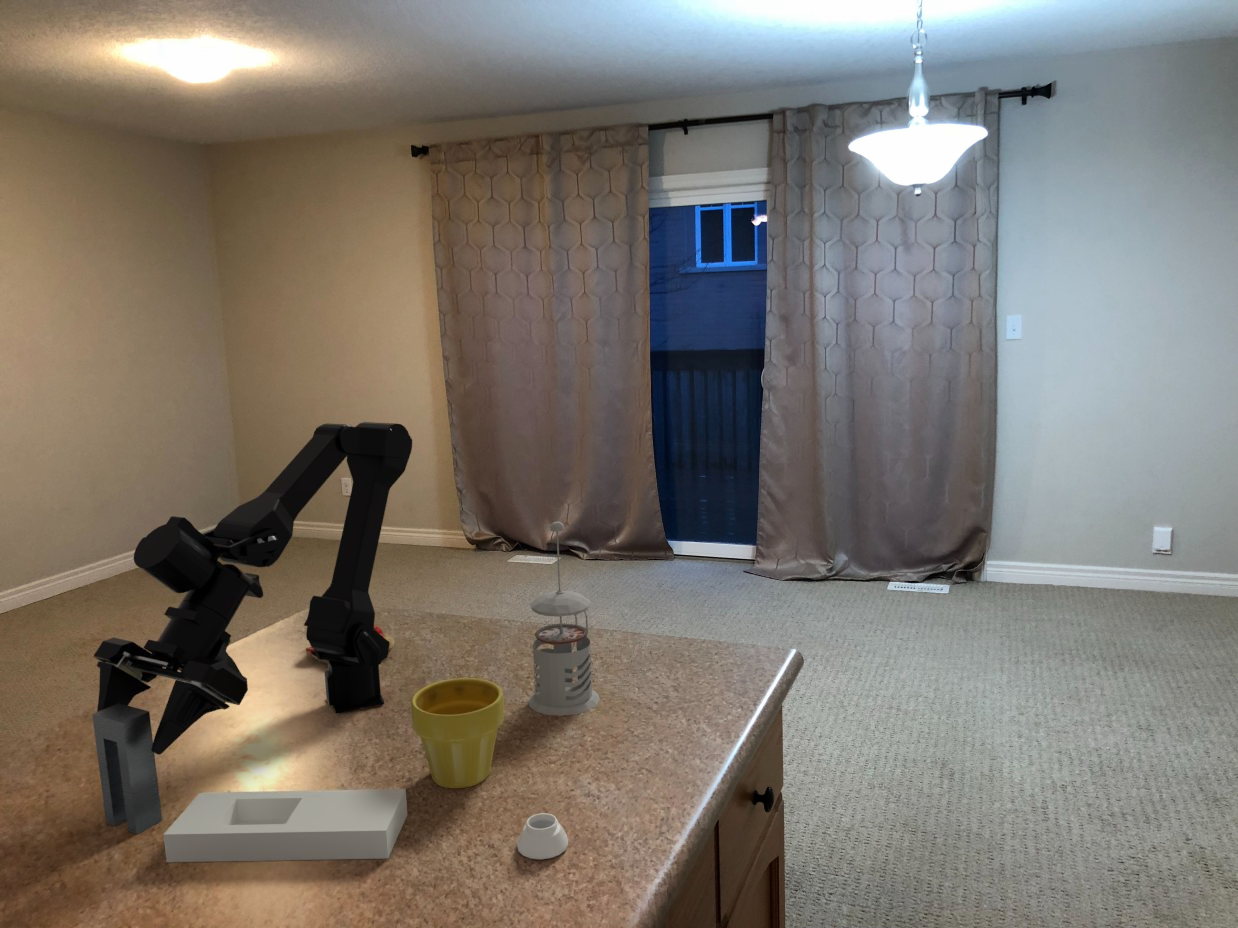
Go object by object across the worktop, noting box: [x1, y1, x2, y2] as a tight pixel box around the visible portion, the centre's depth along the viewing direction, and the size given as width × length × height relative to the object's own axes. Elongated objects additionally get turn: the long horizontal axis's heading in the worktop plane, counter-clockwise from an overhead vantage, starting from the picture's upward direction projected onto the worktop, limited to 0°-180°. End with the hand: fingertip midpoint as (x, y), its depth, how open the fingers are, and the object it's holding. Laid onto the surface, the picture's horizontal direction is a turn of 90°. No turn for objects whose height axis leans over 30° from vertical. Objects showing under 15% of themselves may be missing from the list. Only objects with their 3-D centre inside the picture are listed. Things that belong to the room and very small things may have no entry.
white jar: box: [516, 812, 569, 860], centre depth 94 cm, size 5×3×5 cm
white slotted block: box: [163, 788, 408, 863], centre depth 97 cm, size 8×22×3 cm, turn 89°
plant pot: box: [410, 677, 504, 789], centre depth 108 cm, size 10×10×10 cm
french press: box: [527, 521, 601, 717], centre depth 127 cm, size 10×12×25 cm
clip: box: [91, 703, 163, 835], centre depth 100 cm, size 3×5×12 cm, turn 62°
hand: (126, 744), depth 99 cm, fingers open, 9 cm apart
